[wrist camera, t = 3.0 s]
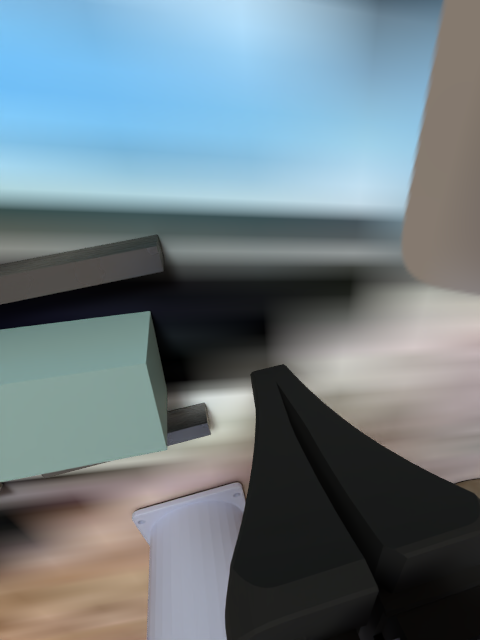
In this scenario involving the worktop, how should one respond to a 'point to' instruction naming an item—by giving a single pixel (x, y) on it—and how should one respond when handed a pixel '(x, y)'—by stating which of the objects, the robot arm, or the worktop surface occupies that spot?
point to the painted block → (80, 394)
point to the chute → (89, 271)
